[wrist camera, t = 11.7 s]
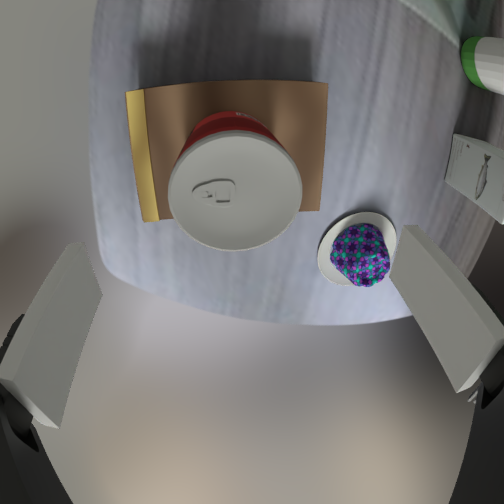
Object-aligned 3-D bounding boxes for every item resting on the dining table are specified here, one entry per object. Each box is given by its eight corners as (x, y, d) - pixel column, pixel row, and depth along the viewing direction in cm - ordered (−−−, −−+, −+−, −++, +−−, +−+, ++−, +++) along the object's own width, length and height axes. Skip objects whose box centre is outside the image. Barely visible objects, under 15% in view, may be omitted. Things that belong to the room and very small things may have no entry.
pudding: (307, 225, 38) (319, 247, 33) (391, 198, 37) (411, 217, 32) (323, 292, 44) (333, 317, 40) (394, 267, 43) (410, 288, 39)
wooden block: (312, 81, 28) (329, 83, 23) (307, 192, 35) (320, 212, 30) (138, 89, 26) (123, 92, 22) (151, 201, 33) (142, 222, 29)
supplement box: (452, 131, 31) (519, 164, 21) (484, 140, 32) (546, 173, 22) (442, 181, 35) (501, 225, 25) (474, 185, 36) (529, 226, 26)
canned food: (175, 123, 24) (147, 156, 15) (263, 100, 24) (291, 116, 15) (199, 198, 29) (191, 266, 20) (280, 177, 28) (311, 235, 19)
